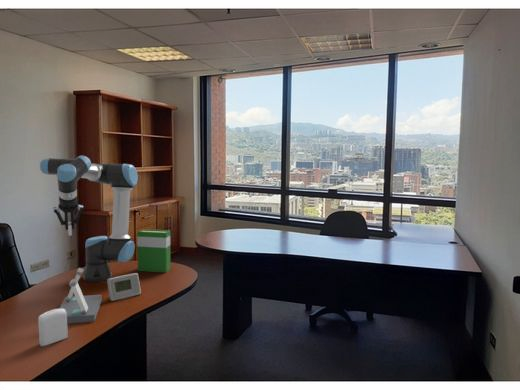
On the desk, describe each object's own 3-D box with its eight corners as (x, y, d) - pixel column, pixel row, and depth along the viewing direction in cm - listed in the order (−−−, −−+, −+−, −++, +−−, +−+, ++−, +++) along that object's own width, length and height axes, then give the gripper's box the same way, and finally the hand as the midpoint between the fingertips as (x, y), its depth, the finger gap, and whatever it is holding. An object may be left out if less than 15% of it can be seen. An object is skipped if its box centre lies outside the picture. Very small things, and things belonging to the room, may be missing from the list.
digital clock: (109, 302, 198) (108, 281, 197) (105, 296, 206) (105, 275, 205) (143, 296, 207) (142, 276, 205) (138, 291, 214) (138, 271, 213)
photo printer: (42, 347, 154) (40, 316, 153) (37, 343, 157) (35, 312, 155) (69, 338, 162) (68, 308, 160) (64, 334, 165) (63, 305, 163)
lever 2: (89, 307, 183) (76, 277, 180) (87, 312, 177) (74, 281, 175) (84, 309, 182) (71, 279, 179) (81, 314, 177) (68, 284, 174)
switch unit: (101, 300, 200) (101, 294, 200) (94, 321, 177) (94, 314, 177) (65, 302, 197) (65, 296, 196) (53, 324, 173) (53, 317, 173)
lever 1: (72, 297, 196) (84, 269, 195) (70, 302, 191) (82, 272, 190) (67, 296, 195) (78, 267, 195) (64, 300, 190) (76, 271, 189)
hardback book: (137, 270, 247) (137, 231, 244) (142, 267, 255) (142, 229, 252) (166, 272, 246) (166, 232, 243) (170, 268, 253) (170, 230, 250)
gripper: (52, 202, 183) (55, 240, 196) (84, 199, 189) (85, 237, 202) (51, 191, 188) (54, 230, 201) (82, 189, 194) (83, 227, 207)
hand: (70, 233), depth 202 cm, fingers closed
